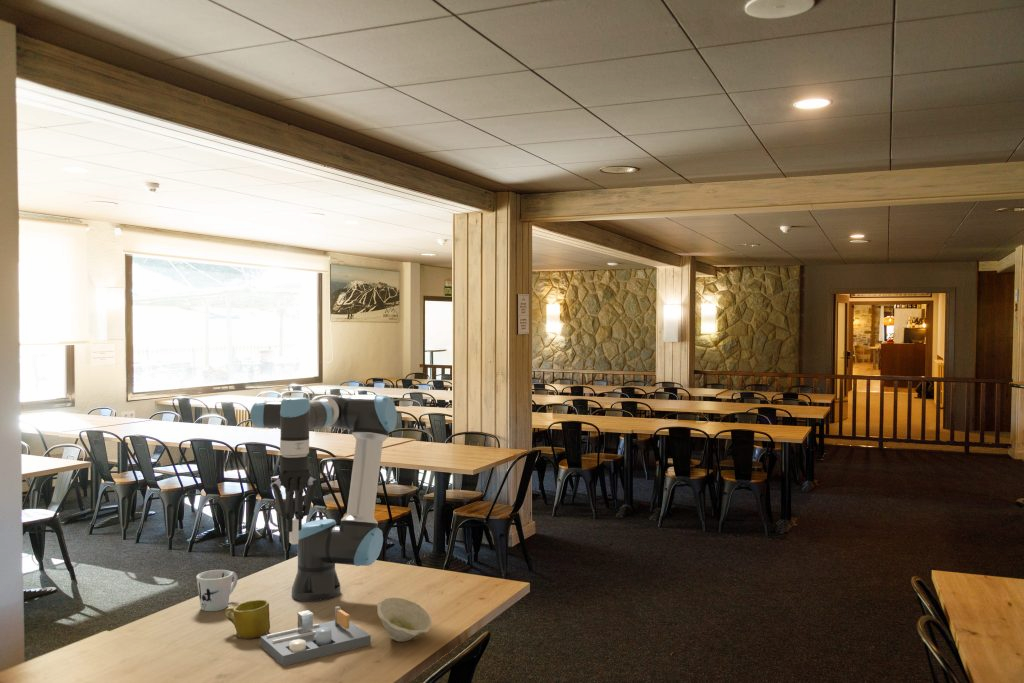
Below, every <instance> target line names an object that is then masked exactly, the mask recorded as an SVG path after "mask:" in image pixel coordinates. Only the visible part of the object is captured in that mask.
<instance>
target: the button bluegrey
mask: <svg viewBox="0 0 1024 683" xmlns="http://www.w3.org/2000/svg"><path fill="white" fill-rule="evenodd" d="M331 642H332V629H331V628H328V627H323V628H318V629H317V630H316V645H319V646H323V645H327V644H331Z"/></svg>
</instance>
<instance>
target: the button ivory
mask: <svg viewBox="0 0 1024 683" xmlns="http://www.w3.org/2000/svg"><path fill="white" fill-rule="evenodd" d="M302 650H306V641H305V640H301V639H298V640H293V641H291V642H290V651H291V652H292V653H293V652H298V651H302Z"/></svg>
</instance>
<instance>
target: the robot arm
mask: <svg viewBox="0 0 1024 683" xmlns="http://www.w3.org/2000/svg"><path fill="white" fill-rule="evenodd" d="M397 413H398V412H397V408H396V405H395V403H394V400H393V399H392V398H391V397H390V396H388V395H383V394H381V395H380V394H351V393H350V394H349V393H347V394H341V395H332V396H323V397H320V398H318V399H317V400H316V399H315V400H309V398H308V397H300V396H299V397H285V398H282V400H281V401H280V400H277V401H275V400H274V401H273V400H272V401H270V400H269V401H268V400H259V401H256V402H255V403H253V405H252V407H251V409H250V421H251V423H252V425H253V426H255V427H258V428H264V429H268V428H269V429H280V441H279V443H280V444H279V445H280V446H279V454H280V455H281V456H280V457H279V475H278V477H277V479H276V480H275V481H274V482H270V483H269V487H270V488H271V490H272V491H273V495H274V499H275V504H276V507H277V513H278V516H279V517H280V518H282V519H283V520H284V519H285V530H286V532H288V533H289V534H288V536H289V537H288V543H290V544H291V545H292V546H293V545H294V546H295V545H297V573H296V575H295V577H294V581H293V584H292V587H291V597H292V598H293V599H294V600H297V601H302V602H321V601H327V600H331V599H335V598H337V597H339V595H340V594H341V583H340V580H339V576H338V574H337V570H336V565H339V564H340V565H349V566H355V567H360V566H363V567H365V566H366V567H367V566H372V565H373V564H374V563H375V562H376V561H377V559H378V557H379V556H380V554H381V551H382V547H383V543H384V537H383V534H384V533H383V530H381V529H380V528H379V527H378V526H379V525H378V524H379V522H378V521H377V519H376V517H375V512H376V511H375V510H376V501H377V492H378V487H379V486H378V485H379V477H380V470H381V469H380V467H381V461H382V460H381V459H382V451H383V443H384V442H385V441H386V440H387V439H389V434H390V432H393V431H394V430H395V429H396V427H397V422H398V414H397ZM322 428H336V429H341V430H349V431H350V430H351V431H352V436H353V437H354V439H355V448H354V454H353V462H352V470H351V477H350V478H351V479H350V487H349V491H348V492H349V495H348V501H347V509H346V514H345V516H343V517H342V518H341V519H340V525H337V522H336V520H335V519H332V518H324V519H323V518H322V519H316V520H312V521H308V522H305V523H302V521H303V519H304V517H306V516H309V514H310V511H311V507H312V501H313V497H314V493H315V488H316V487H317V486H318V484H319V480H318V479H316V478H313V477H312V476H311V474H310V456H309V455H308V454H309V453H310V431H312V430H313V431H315V430H320V429H322ZM281 485H282V486H281ZM306 485H307V486H306ZM305 486H306V490H305V495H304V497H303V494H304V488H305ZM282 487H283V488H284V492H285V502H284V498H283V494H282V491H281V488H282Z"/></svg>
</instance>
